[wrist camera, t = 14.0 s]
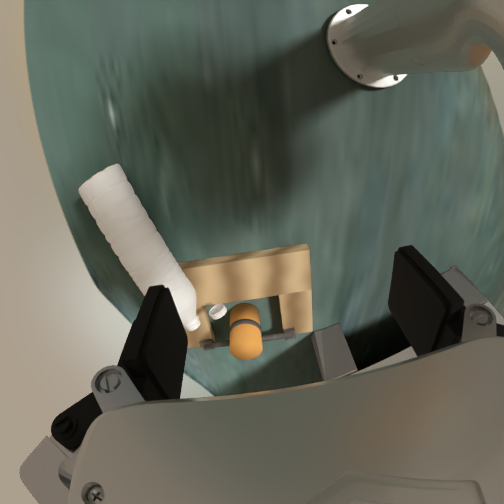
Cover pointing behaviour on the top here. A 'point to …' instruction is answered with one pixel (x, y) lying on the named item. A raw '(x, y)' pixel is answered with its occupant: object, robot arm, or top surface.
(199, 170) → the top surface
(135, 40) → the top surface
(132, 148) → the top surface
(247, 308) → the banded orange cylinder
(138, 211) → the water bottle
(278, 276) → the oak frame
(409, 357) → the transformer
